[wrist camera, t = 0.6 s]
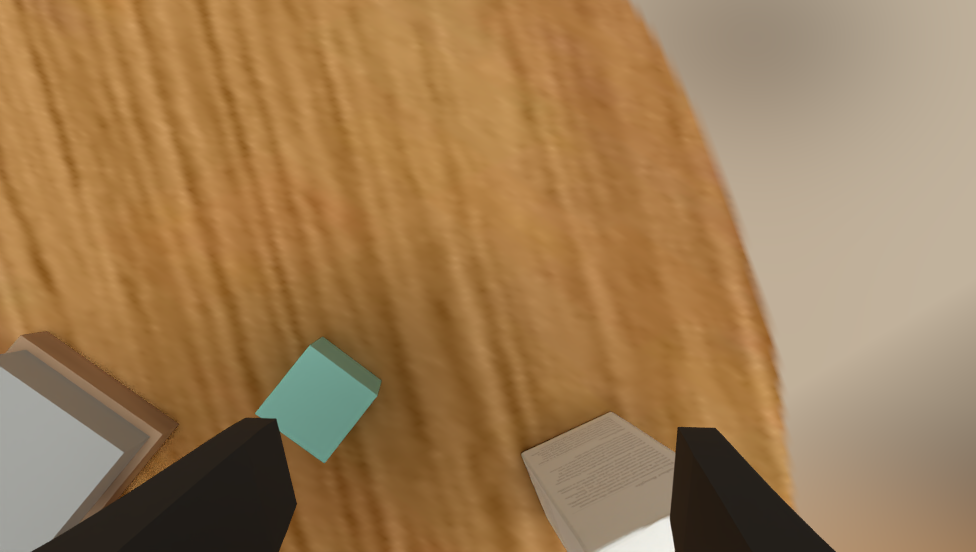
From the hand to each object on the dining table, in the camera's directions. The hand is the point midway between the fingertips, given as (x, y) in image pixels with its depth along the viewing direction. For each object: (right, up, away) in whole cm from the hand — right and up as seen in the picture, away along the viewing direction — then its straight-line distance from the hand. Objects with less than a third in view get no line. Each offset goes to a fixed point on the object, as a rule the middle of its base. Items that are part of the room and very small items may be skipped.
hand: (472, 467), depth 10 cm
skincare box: (+6, -7, +22) cm, 24 cm away
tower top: (-21, -5, +16) cm, 27 cm away
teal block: (-8, -3, +20) cm, 22 cm away
